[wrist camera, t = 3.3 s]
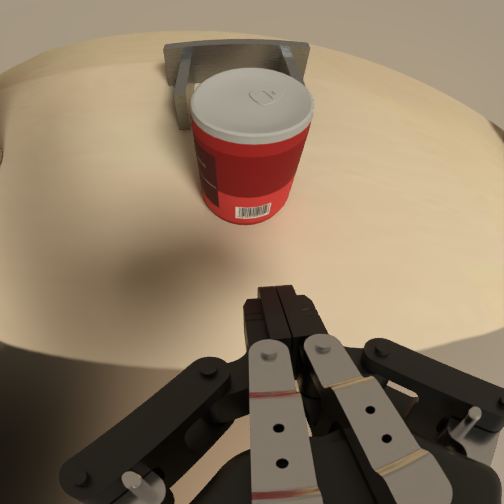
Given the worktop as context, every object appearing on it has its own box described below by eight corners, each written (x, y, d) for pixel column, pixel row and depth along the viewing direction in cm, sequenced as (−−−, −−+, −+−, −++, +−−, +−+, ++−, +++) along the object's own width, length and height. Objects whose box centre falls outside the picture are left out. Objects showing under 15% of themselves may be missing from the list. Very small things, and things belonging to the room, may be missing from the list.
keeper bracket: (318, 127, 30) (331, 88, 24) (159, 131, 28) (149, 90, 23) (299, 76, 34) (307, 42, 28) (170, 79, 32) (165, 44, 27)
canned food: (303, 187, 26) (336, 98, 16) (250, 246, 24) (262, 160, 14) (242, 147, 28) (247, 56, 18) (186, 195, 25) (164, 102, 15)
